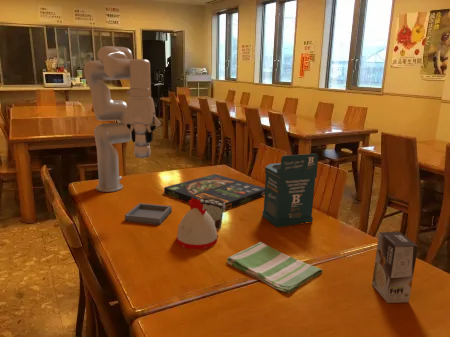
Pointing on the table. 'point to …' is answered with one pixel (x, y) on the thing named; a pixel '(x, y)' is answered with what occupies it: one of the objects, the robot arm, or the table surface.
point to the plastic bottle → (141, 139)
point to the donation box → (290, 190)
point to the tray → (148, 214)
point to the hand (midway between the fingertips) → (142, 141)
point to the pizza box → (216, 190)
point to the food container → (214, 208)
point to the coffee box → (394, 266)
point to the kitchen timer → (197, 228)
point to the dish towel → (273, 267)
